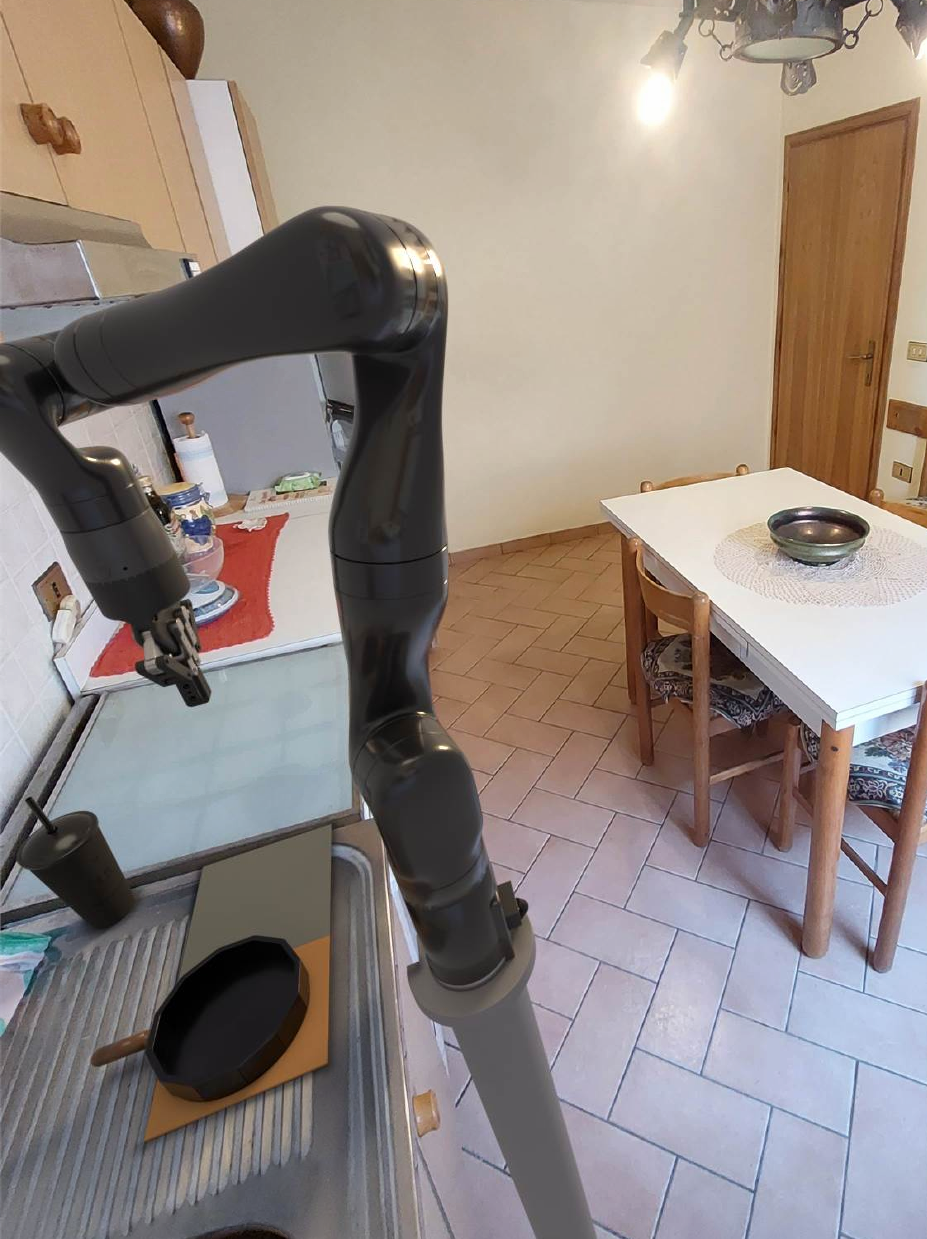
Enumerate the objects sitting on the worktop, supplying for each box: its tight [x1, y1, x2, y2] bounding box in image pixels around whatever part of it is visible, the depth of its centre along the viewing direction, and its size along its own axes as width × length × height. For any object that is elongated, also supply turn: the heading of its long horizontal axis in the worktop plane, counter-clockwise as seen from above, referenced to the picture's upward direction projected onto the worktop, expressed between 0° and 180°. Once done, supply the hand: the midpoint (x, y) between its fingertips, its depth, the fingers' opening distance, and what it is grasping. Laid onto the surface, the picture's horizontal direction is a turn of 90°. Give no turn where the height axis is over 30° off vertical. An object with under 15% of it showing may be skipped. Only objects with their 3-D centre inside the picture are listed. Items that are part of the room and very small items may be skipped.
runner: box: [143, 823, 333, 1143], centre depth 75 cm, size 16×31×1 cm, turn 20°
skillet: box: [90, 935, 310, 1102], centre depth 67 cm, size 19×14×4 cm
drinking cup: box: [16, 796, 136, 930], centre depth 77 cm, size 8×8×20 cm
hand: (200, 700), depth 70 cm, fingers closed
